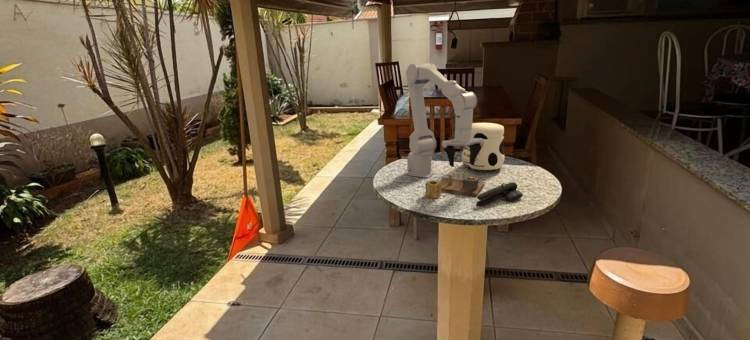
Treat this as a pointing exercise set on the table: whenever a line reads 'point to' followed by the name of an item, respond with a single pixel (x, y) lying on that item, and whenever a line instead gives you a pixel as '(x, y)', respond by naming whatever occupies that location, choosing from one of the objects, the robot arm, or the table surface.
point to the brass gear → (433, 189)
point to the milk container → (486, 147)
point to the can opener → (500, 194)
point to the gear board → (461, 186)
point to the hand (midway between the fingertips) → (461, 165)
